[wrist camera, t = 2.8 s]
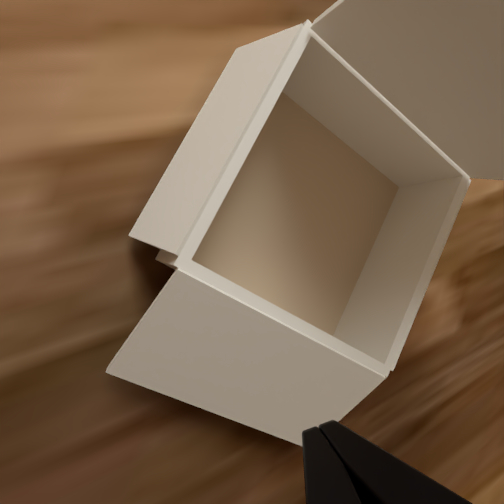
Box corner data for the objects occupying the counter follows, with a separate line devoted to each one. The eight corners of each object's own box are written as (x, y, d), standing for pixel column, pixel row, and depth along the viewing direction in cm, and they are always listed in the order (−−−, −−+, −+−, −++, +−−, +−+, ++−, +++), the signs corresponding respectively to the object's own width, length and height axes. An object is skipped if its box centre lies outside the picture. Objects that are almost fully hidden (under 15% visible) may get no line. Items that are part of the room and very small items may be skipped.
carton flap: (470, 177, 19) (715, 195, 11) (309, 27, 15) (503, -126, 7) (476, 169, 19) (725, 181, 11) (316, 17, 15) (519, -151, 7)
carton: (313, 439, 22) (371, 492, 17) (65, 342, 17) (51, 382, 12) (417, 199, 25) (491, 189, 20) (234, 49, 20) (277, -12, 15)
